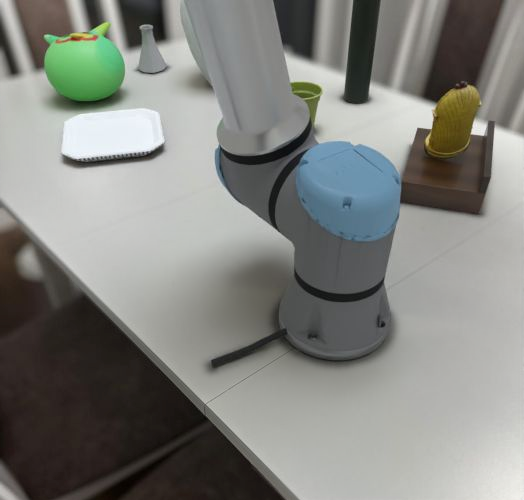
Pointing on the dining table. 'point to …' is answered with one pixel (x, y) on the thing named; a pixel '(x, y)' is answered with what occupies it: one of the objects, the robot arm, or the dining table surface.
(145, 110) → the plate
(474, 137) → the brown boxy piece
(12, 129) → the dining table surface
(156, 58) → the flask
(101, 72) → the toy bird
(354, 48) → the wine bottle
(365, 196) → the robot arm
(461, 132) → the yellow curved piece
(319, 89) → the plant pot
